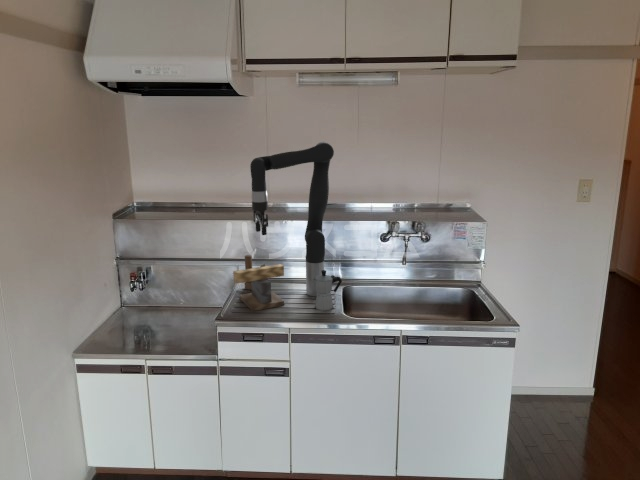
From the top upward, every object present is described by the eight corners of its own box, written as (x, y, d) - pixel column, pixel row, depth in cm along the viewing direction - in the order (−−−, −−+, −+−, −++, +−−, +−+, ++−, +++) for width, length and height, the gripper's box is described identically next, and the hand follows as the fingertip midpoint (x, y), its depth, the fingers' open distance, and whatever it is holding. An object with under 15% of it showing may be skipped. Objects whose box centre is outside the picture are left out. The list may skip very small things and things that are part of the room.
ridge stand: (270, 293, 247) (269, 270, 244) (284, 305, 231) (283, 281, 228) (240, 298, 240) (238, 275, 237) (251, 311, 224) (250, 286, 221)
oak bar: (281, 273, 239) (281, 264, 238) (284, 275, 236) (283, 265, 235) (233, 281, 229) (233, 271, 228) (236, 283, 226) (235, 273, 225)
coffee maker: (312, 311, 223) (311, 274, 218) (309, 304, 231) (308, 268, 227) (344, 309, 226) (344, 272, 221) (339, 302, 234) (339, 266, 230)
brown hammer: (262, 291, 249) (261, 258, 245) (244, 289, 253) (242, 256, 249) (266, 289, 252) (264, 256, 248) (248, 287, 256) (246, 254, 252)
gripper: (272, 201, 228) (273, 235, 232) (262, 197, 240) (263, 229, 244) (257, 203, 225) (258, 237, 229) (247, 198, 237) (249, 231, 241)
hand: (261, 233), depth 236 cm, fingers open, 8 cm apart
